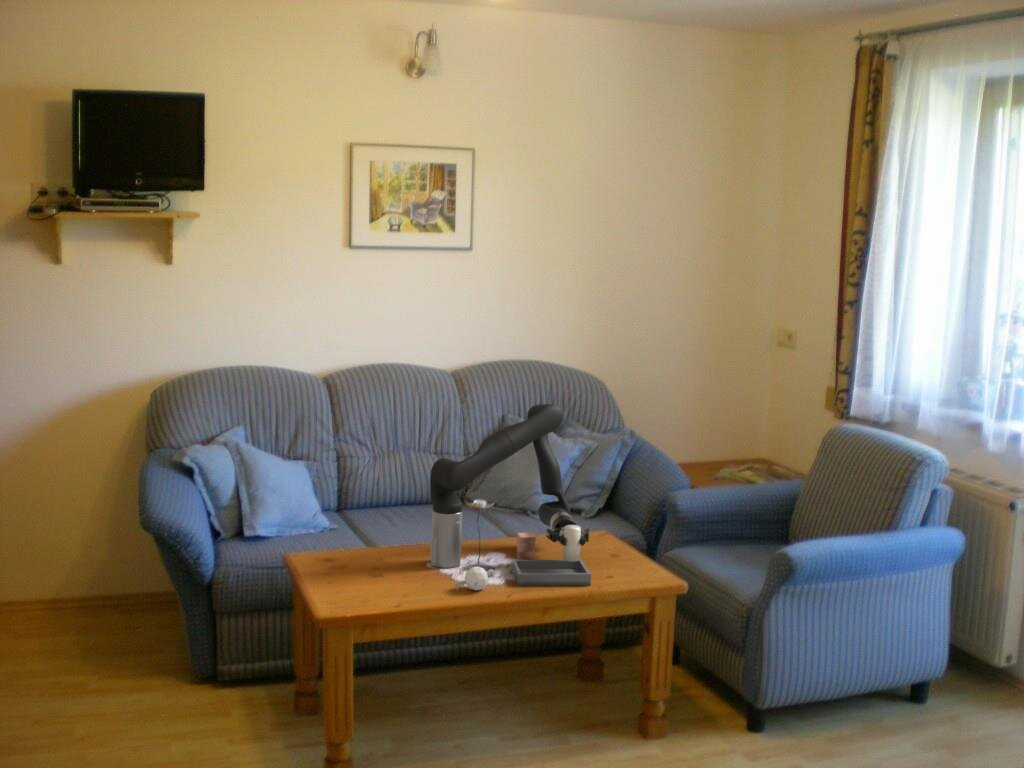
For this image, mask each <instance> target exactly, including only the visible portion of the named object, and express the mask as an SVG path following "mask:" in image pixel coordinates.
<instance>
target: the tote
mask: <svg viewBox="0 0 1024 768" xmlns="http://www.w3.org/2000/svg"><path fill="white" fill-rule="evenodd" d="M512 571H513V572H512ZM511 572H512V574H514V575H513V577H514V576H515V577H514V579H515V581H517V582H516V584H517V586H518V587H519V586H523V587H525V586H526V587H527V586H529V587H530V586H535V587H537V586H539V587H540V586H544V587H545V586H547V587H548V586H550V587H551V586H554V587H555V586H591V583H592V573H591V571H590V570H589V568H588V567H587V565H586V564H585V562H584V560H583V559H580V560H578V561H566V560H564V559H535V560H516V559H511Z"/></svg>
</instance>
